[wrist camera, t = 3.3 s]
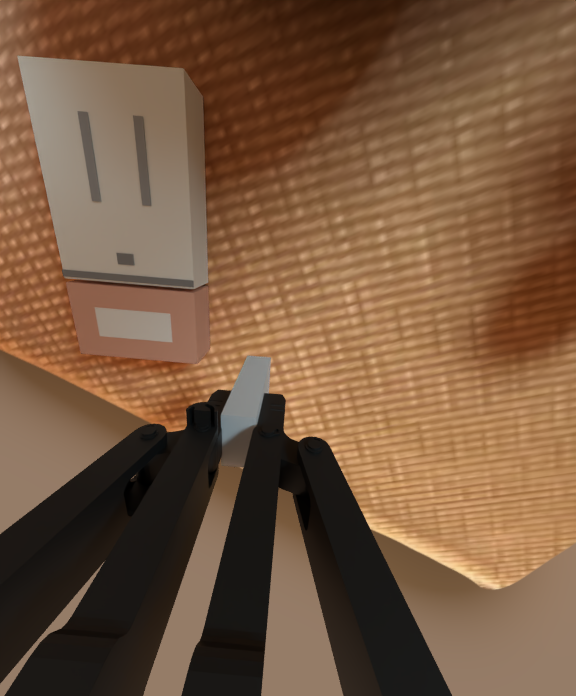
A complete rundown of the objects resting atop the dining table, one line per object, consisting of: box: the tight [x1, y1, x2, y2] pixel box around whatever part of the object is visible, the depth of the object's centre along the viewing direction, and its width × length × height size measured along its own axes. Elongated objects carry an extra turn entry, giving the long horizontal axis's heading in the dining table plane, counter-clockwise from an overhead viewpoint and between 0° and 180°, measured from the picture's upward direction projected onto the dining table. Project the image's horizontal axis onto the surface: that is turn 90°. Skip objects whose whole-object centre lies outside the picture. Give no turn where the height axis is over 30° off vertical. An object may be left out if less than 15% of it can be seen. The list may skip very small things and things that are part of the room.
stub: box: [66, 279, 210, 364], centre depth 24 cm, size 6×10×4 cm, turn 86°
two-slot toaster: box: [17, 56, 208, 289], centre depth 20 cm, size 13×10×4 cm
